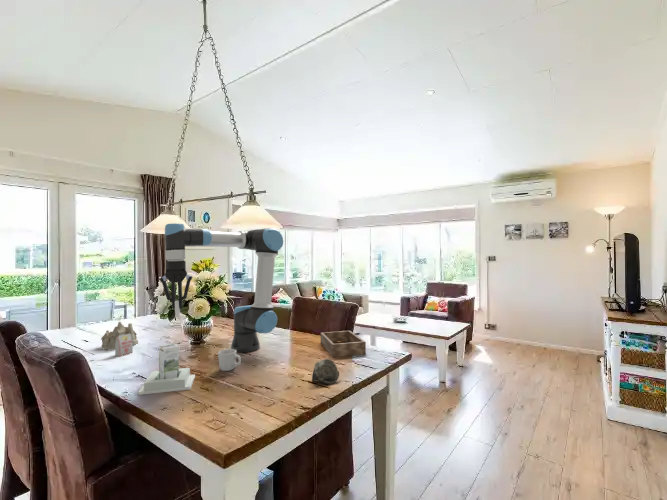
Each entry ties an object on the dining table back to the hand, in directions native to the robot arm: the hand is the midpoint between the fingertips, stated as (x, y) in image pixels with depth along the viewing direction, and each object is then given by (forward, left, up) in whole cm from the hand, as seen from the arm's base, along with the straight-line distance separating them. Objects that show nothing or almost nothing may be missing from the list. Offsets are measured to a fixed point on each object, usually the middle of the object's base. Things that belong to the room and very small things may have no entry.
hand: (177, 316), depth 147 cm
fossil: (-58, +22, -26) cm, 68 cm away
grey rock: (+41, -63, -26) cm, 80 cm away
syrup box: (+2, +9, -25) cm, 26 cm away
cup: (-21, -3, -26) cm, 33 cm away
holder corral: (-78, -21, -25) cm, 85 cm away
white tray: (+2, +9, -25) cm, 27 cm away
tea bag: (+33, -44, -26) cm, 61 cm away
